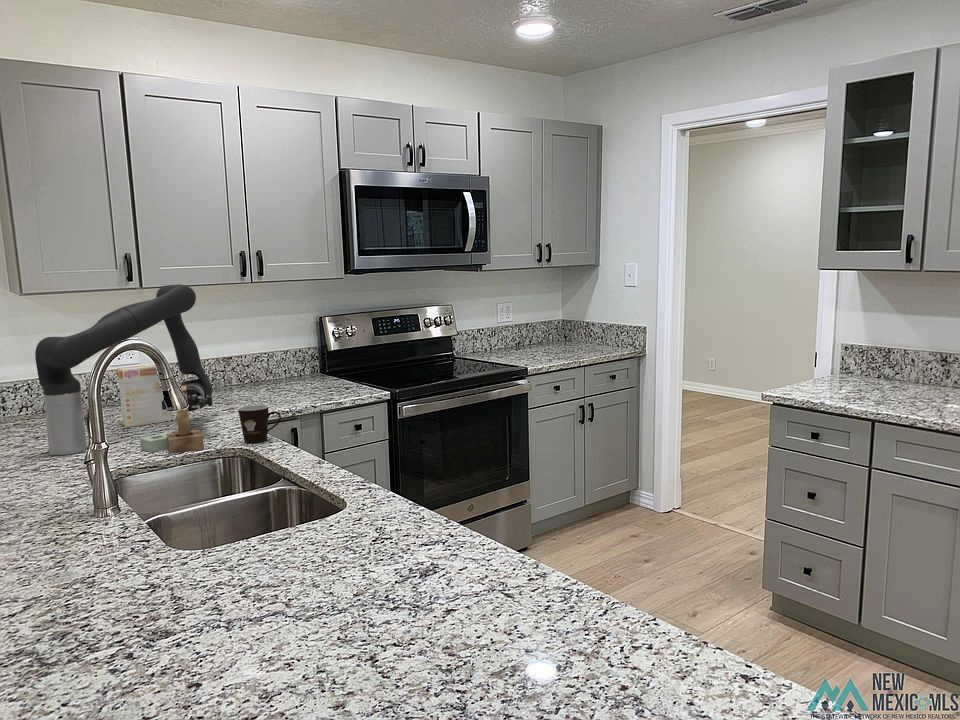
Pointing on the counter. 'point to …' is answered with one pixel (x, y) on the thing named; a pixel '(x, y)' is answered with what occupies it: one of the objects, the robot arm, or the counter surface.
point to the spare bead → (154, 443)
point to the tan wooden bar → (183, 419)
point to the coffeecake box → (141, 396)
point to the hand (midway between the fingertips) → (185, 406)
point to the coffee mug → (255, 423)
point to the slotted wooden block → (185, 442)
